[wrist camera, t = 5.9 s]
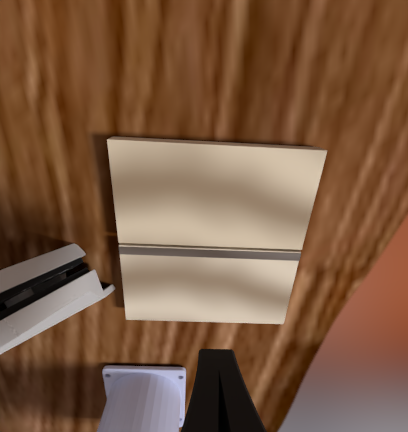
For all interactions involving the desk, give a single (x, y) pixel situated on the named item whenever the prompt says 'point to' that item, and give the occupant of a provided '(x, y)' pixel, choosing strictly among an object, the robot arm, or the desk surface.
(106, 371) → the robot arm
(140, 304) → the laid board
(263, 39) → the desk surface
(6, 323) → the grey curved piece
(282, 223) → the board
